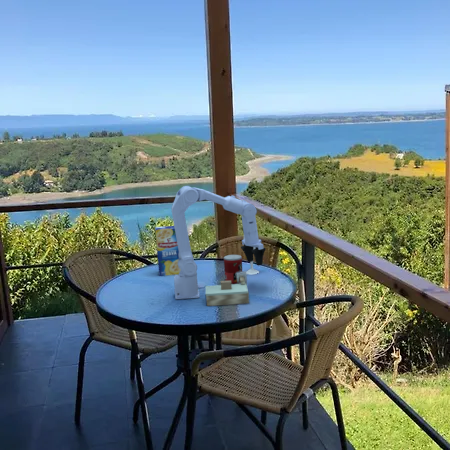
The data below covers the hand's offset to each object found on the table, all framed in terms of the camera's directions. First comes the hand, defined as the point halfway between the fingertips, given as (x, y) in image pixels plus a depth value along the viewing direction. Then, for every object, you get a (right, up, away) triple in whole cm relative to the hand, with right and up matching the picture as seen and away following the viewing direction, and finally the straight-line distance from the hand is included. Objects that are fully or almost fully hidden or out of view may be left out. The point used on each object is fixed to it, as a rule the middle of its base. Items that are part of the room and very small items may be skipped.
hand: (255, 263), depth 211 cm
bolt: (-6, -7, -8) cm, 12 cm away
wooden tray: (-12, -13, -14) cm, 22 cm away
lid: (-12, -9, -14) cm, 21 cm away
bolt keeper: (-5, -11, -4) cm, 13 cm away
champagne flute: (0, -6, +23) cm, 24 cm away
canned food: (-9, -9, +11) cm, 17 cm away
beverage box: (-38, -7, +30) cm, 49 cm away
